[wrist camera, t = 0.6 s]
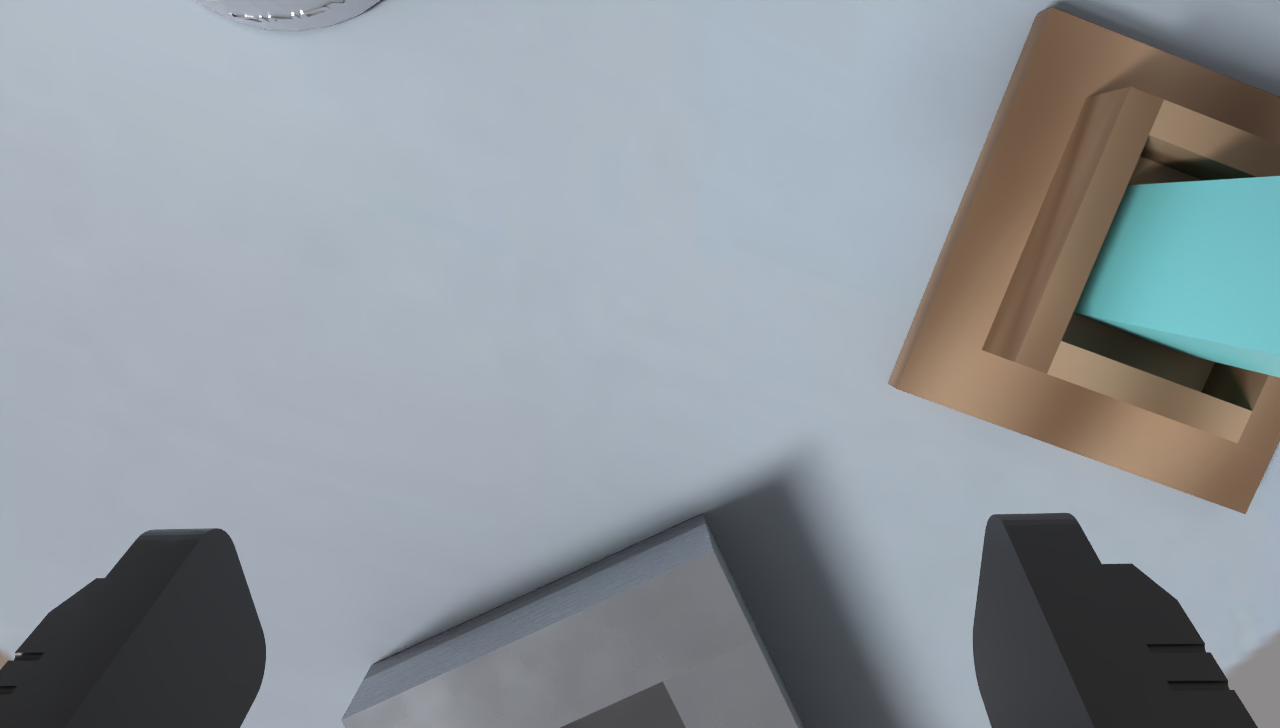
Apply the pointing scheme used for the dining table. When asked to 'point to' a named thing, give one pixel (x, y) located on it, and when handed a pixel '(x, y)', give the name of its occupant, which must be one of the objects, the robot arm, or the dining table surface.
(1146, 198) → the plug
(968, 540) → the dining table surface
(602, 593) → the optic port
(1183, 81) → the square wooden holder
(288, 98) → the dining table surface
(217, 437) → the dining table surface
